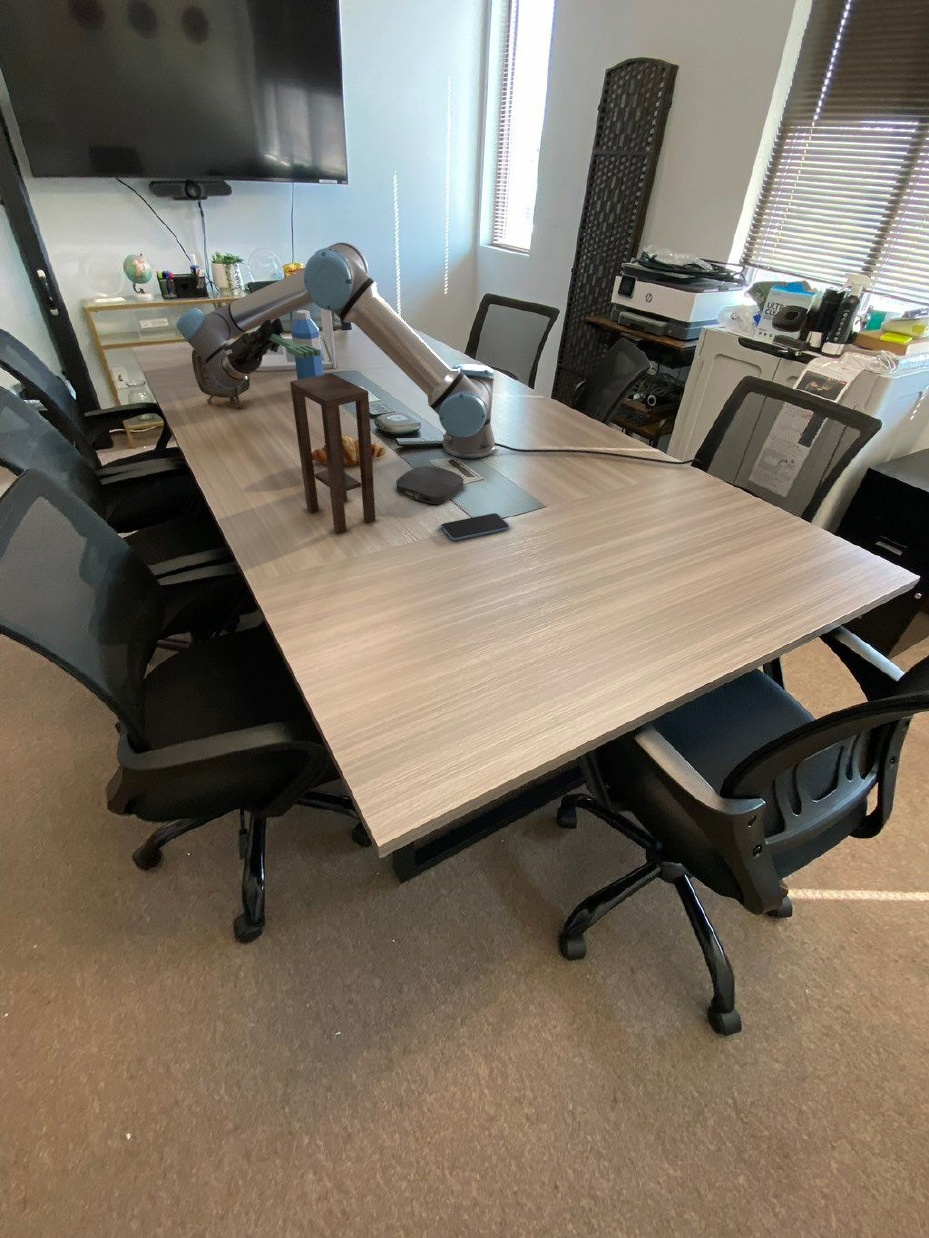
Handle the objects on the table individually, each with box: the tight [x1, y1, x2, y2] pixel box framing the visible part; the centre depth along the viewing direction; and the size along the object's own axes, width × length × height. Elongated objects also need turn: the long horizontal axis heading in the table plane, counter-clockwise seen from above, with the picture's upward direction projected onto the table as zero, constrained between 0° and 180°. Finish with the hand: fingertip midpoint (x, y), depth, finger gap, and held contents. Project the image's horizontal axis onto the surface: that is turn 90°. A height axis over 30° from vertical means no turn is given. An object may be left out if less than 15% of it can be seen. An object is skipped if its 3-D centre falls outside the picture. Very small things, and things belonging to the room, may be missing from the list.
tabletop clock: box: [191, 343, 250, 409], centre depth 187 cm, size 14×9×25 cm, turn 76°
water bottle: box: [291, 309, 324, 380], centre depth 200 cm, size 9×9×25 cm
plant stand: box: [289, 372, 376, 535], centre depth 133 cm, size 14×10×30 cm
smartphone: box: [440, 512, 510, 541], centre depth 140 cm, size 7×1×15 cm
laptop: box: [255, 307, 337, 372], centre depth 231 cm, size 40×29×28 cm
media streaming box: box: [396, 465, 465, 505], centre depth 154 cm, size 15×15×3 cm
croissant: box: [312, 435, 387, 467], centre depth 164 cm, size 21×10×8 cm, turn 112°
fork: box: [268, 333, 320, 359], centre depth 130 cm, size 22×4×1 cm, turn 42°
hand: (275, 325), depth 130 cm, fingers closed on fork, 2 cm apart
